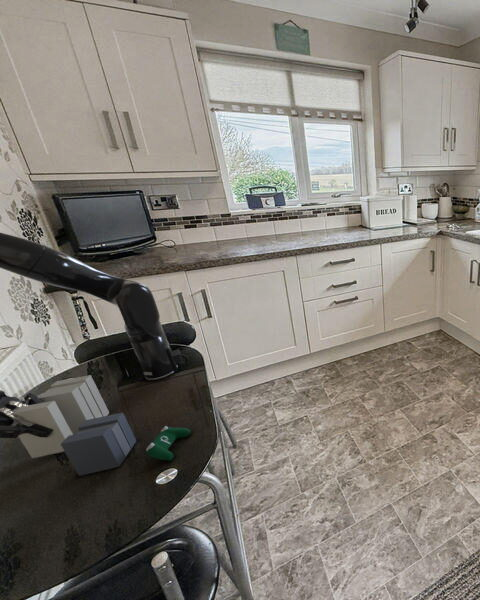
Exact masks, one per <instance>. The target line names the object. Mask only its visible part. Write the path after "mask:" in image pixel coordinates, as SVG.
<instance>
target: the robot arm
mask: <svg viewBox="0 0 480 600" xmlns="http://www.w3.org/2000/svg"><path fill="white" fill-rule="evenodd" d="M0 269H3V270H5V271H7V272H11V273H13V274H15V275H19V276H22V277H25V278H27V279H31V280H33V281H37V282H40V283H42V284H46V285H50V286H54V287H57V288H62V289H68V290H71V291H78V292H80V293H81V292H82V293H85V294H88V295H90V296H94V297H97V298H98V299H101V300H103V301H106V302H108V303H110V304H112V305H113V306H116V307H117V308H118V310H119V312H120V314H121V317H122V320H123V322H124V330H125V333H126V335H127V337H128V340H129V342H130V344H131V346H132V349H133V352H134V353H135V356H136V358H137V361H138V363H139V365H140V368H141V371H142V373H143V375H144V378H145V379H146V381H149V382H152V381H159V380H162V379H165V378H168V377H170V376H172V375H174V374H175V373H177V372H179V366H178V363H179V362H182V361H183V360H182V358H184V359H185V365H188V364H189V363H190V358H189V356H188V355H186V354H184V353H181V351H180V349H179V348H178V349H174V350H172V346H171V344H170V342H169V341H168V339H167V338H168V337H167V335H166V333H165V330H164V328H163V325H162V322H161V320H160V317H161V316H160V311H159V308H158V305H157V303H156V300H155V297H154V295H153V292H152V290H151V289H150V288H149V287H148V286H146V285H145V284H143V283H140V282H137V281H133V280H130V279H126V278H123V277H118V276H116V275H112V274H109V273H106V272H103V271H100V270H98V269H97V268H94V267H92V266H91V265H88V264H86V263H85V262H83V261H81V260H79V259H77V258H75V257H73V256H71V255H69V254H66V253H64V252H62V251H59V250H57V249H55V248H52V247H50V246H47V245H45V244H42V243H40V242H36V241H33V240H30V239H26V238H22V237H19V236H16V235H12V234H7V233H5V232H0ZM37 396H38V395H36V394H35V393H33V392H28V393H27V394H26V395H25V396H21V397H17V396H8V395H7V394H6V392H5V390H2V389H0V439H17V438H19V435H21V434H25V433H28V434H31V435H34V436H38V437H45V438H47V437H48V436H49V435H50V434H51V433H52V431H53V429H51V428H48V427H45V426H42V425H39V424H36V423H35V424H34V425H33V423H32V422H30V421H27V420H25V419H24V418H23V417H22V416H19V415H16V414H13V413H14V412H12V411H13V410H14V409H15V408H20V407H23V406H28V405H33V404H39V403H43V402H42V401H41V400H40V399H39V398H38V397H37ZM19 424H20V425H22V426H20V425H19Z"/></svg>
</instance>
